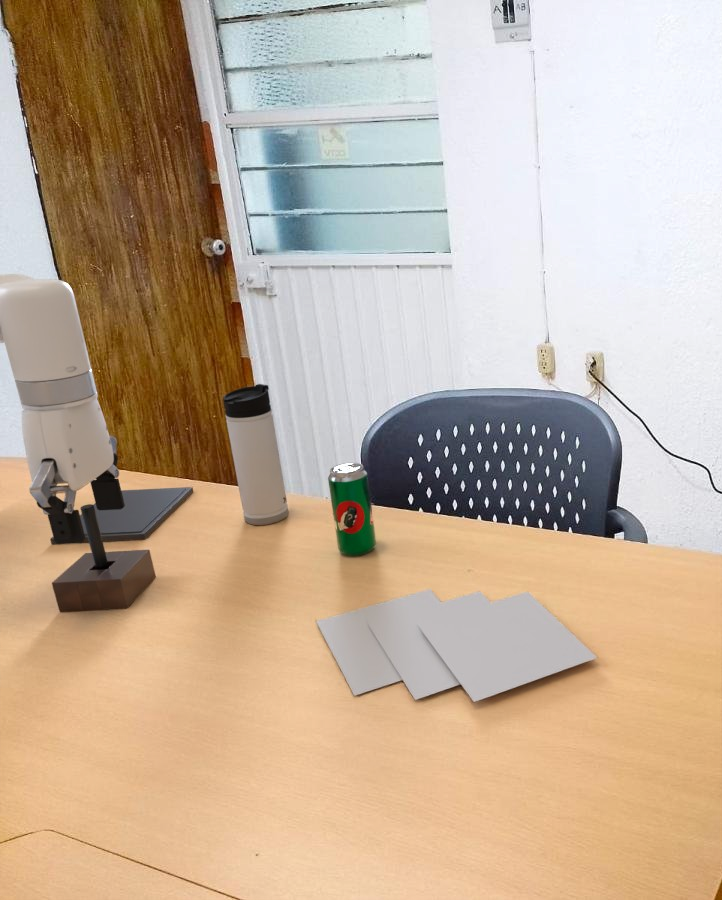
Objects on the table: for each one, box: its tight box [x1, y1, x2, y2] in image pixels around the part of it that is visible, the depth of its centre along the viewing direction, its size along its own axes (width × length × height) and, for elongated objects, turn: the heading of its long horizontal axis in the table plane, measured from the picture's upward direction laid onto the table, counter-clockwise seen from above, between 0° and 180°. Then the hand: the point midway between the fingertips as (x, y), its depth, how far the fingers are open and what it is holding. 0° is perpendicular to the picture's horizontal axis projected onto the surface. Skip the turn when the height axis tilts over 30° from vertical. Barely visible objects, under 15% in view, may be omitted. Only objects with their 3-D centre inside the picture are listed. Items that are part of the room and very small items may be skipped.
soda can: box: [327, 462, 377, 557], centre depth 112 cm, size 5×5×12 cm
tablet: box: [49, 486, 194, 545], centre depth 127 cm, size 13×18×1 cm
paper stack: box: [315, 588, 598, 703], centre depth 92 cm, size 23×25×1 cm
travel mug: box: [222, 383, 290, 526], centre depth 122 cm, size 6×7×20 cm
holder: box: [51, 549, 157, 613], centre depth 103 cm, size 8×8×4 cm
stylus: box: [79, 503, 109, 570], centre depth 102 cm, size 1×1×12 cm
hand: (92, 525), depth 101 cm, fingers open, 9 cm apart
